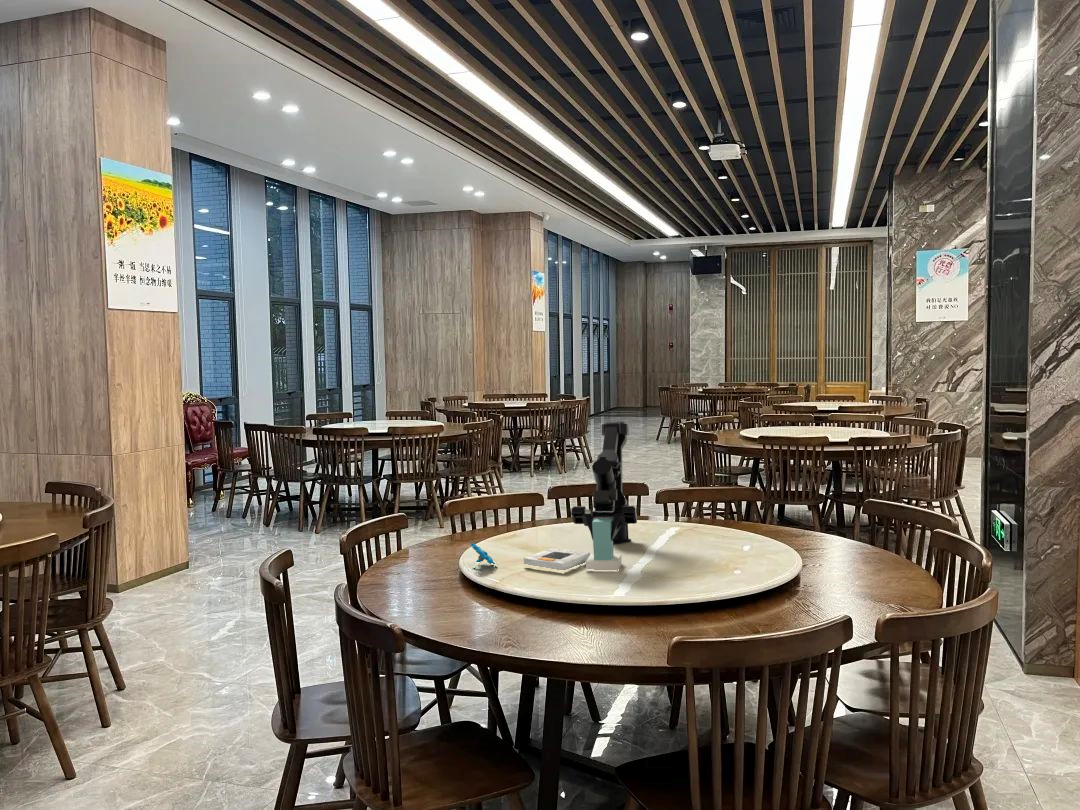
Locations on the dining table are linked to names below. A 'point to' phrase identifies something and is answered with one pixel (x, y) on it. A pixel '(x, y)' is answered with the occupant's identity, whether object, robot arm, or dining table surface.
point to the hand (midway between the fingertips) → (602, 539)
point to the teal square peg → (602, 539)
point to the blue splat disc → (482, 554)
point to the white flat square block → (604, 563)
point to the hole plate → (557, 558)
